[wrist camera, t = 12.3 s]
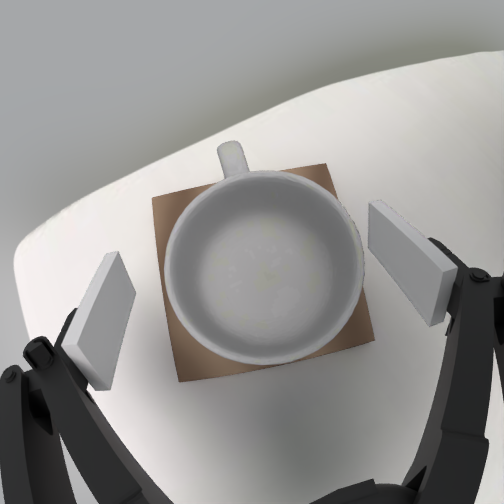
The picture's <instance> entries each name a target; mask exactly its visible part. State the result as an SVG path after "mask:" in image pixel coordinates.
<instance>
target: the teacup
mask: <svg viewBox="0 0 504 504" xmlns="http://www.w3.org/2000/svg"><path fill="white" fill-rule="evenodd" d="M217 153H218V156H219V159H220V162H221V166H222V169H223V173H224V176H225V179H223V180H222V181H220V182H218V183H216V184H214V185H213V186H211V187H210V188H208V189H207V190H205V191H204V192H202V193H201V194H199V195H198V196H197V197H196V198H195V199H194V200H193V201H192V202H191V203H190V204H189V205H188V206H187V207H186V208H185V210H184V211H183V213H182V214H181V215H180V217H179V218H178V220H177V222H176V223H175V225H174V228H173V230H172V232H171V235H170V237H169V240H168V244H167V247H166V256H165V264H164V276H165V285H166V291H167V294H168V297H169V301H170V303H171V305H172V307H173V310H174V311H175V313H176V315H177V317H178V319H179V320H180V322H181V324H182V325H183V326H184V327H185V328H186V330H187V331H188V332H189V333H190V335H191V336H192V337H194V338H195V339H196V340H197V341H198V342H199V343H200V344H202V345H203V346H205V347H206V348H207V349H209V350H210V351H212V352H214V353H216V354H217V355H219V356H221V357H224V358H227V359H230V360H233V361H236V362H240V363H244V364H255V365H274V364H282V363H288V362H292V361H295V360H298V359H300V358H303V357H305V356H307V355H309V354H311V353H314V352H315V351H317V350H319V349H321V348H322V347H323V346H325V345H326V344H327V343H329V342H330V341H331V340H332V339H333V338H334V337H335V336H336V335H337V334H338V333H339V332H340V331H341V329H342V328H343V326H344V325H345V324H346V323H347V321H348V319H349V318H350V316H351V315H352V313H353V310H354V308H355V306H356V305H357V302H358V300H359V297H360V294H361V290H362V285H363V279H364V264H365V262H364V252H363V248H362V243H361V239H360V235H359V232H358V230H357V229H356V226H355V223H354V222H353V221H352V220H351V218H350V215H349V214H348V213H347V211H346V209H345V208H344V207H343V206H342V204H341V203H340V202H339V201H338V200H337V199H336V198H335V197H334V196H333V195H332V194H331V193H330V192H329V191H327V190H326V189H324V188H323V187H321V186H320V185H318V184H317V183H315V182H313V181H311V180H309V179H307V178H305V177H303V176H299V175H296V174H293V173H289V172H283V171H252V172H249V168H248V165H247V162H246V158H245V155H244V152H243V149H242V147H241V145H240V143H239V142H238V141H228V142H225V143H223V144H221V145H220V146H218V148H217Z"/></svg>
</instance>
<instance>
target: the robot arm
mask: <svg viewBox="0 0 504 504" xmlns="http://www.w3.org/2000/svg"><path fill="white" fill-rule="evenodd" d="M368 248H369V250H370V251H371V252H372V253H373V254H374V256H375V257H376V258H377V259H378V261H379V262H380V263H381V264H382V265H383V267H384V268H385V269H386V270H387V272H388V273H389V274H390V275H391V277H392V278H393V279H394V281H395V282H396V283H397V284H398V286H399V287H400V288H401V290H402V291H403V292H404V293H405V295H406V296H407V297H408V299H409V300H410V301H411V303H412V304H413V305H414V307H415V308H416V309H417V311H418V312H419V313H420V315H421V316H422V318H423V319H424V320H425V322H426V323H427V325H428V326H429V327H430V326H433V325H436V324H438V323H441V322H443V321H444V318H445V315H446V311H448V313H449V314H450V315H451V319H450V323H449V325H448V328H447V331H446V334H445V336H447V341H446V347H445V352H444V357H443V362H442V367H441V372H440V376H439V380H438V384H437V389H436V392H435V396H434V400H433V404H432V407H431V411H430V414H429V418H428V421H427V424H426V427H425V431H424V434H423V437H422V440H421V442H420V445H419V448H418V451H417V454H416V456H415V459H414V461H413V464H412V466H411V468H410V469H409V471H408V473H407V475H406V477H405V479H404V481H403V483H402V485H396V484H375V482H374V479H370V480H367V481H364V482H361V483H358V484H354V485H351V486H348V487H344V488H341V489H338V490H336V491H334V492H332V493H330V494H328V495H326V496H324V497H322V498H320V499H318V500H316V501H314V502H312V503H309V504H474V502H475V499H476V496H477V493H478V490H479V486H480V483H481V479H482V475H483V471H484V467H485V463H486V459H487V455H488V449H489V440H488V439H486V438H485V436H484V433H485V427H486V421H487V415H488V408H489V400H490V392H491V382H492V371H493V353H494V350H495V354H496V359H497V364H498V369H499V375H500V381H501V387H502V393H503V401H504V273H503V276H502V277H491V276H490V275H489V274H488V273H487V272H486V271H484V270H482V269H479V268H468V267H467V266H466V265H465V264H464V263H463V262H462V261H461V260H460V259H459V258H458V257H457V256H455V255H454V254H452V252H451V251H450V250H449V249H447V247H445V246H444V245H443V244H442V243H441V242H439V241H437V240H435V239H433V238H426V237H425V236H424V235H423V234H422V233H420V232H419V231H418V230H417V229H416V228H415V227H413V226H412V225H411V224H410V223H409V222H408V221H406V220H405V219H404V218H403V217H402V216H400V215H399V214H398V213H397V212H396V211H394V210H393V209H392V208H391V207H389V206H388V205H387V204H386V203H384V202H383V201H382V200H378V201H372V202H369V223H368ZM135 296H136V291H135V289H134V287H133V285H132V282H131V280H130V278H129V275H128V273H127V271H126V268H125V266H124V263H123V261H122V259H121V256H120V254H119V251H116V252H112V253H107V254H106V255H105V256H104V258H103V260H102V262H101V264H100V266H99V267H98V269H97V271H96V273H95V275H94V277H93V279H92V281H91V283H90V285H89V287H88V289H87V291H86V293H85V295H84V297H83V299H82V301H81V303H80V305H79V307H78V308H74V310H73V311H72V312H71V313H70V314H69V315H68V317H67V319H66V321H65V323H64V325H63V327H62V329H61V332H60V334H59V336H58V338H57V340H56V342H55V345H54V347H53V346H52V344H51V343H50V342H49V340H48V339H47V338H46V337H44V336H40V337H37V338H35V339H33V340H32V341H30V342H29V343H28V344H27V346H26V347H25V349H24V351H23V357H24V358H25V359H26V361H27V362H28V363H29V365H30V366H31V367H32V368H33V369H32V370H29V371H26V372H23V370H22V369H21V368H20V367H19V366H18V365H12V366H10V367H9V368H7V369H6V370H5V371H4V372H3V374H2V376H1V378H0V469H1V478H2V487H3V494H4V500H5V504H77V503H76V500H75V497H74V493H73V490H72V487H71V483H70V479H69V476H68V472H67V468H66V464H65V459H64V455H63V450H62V446H61V441H60V436H59V433H60V435H61V437H62V440H63V442H64V444H65V446H66V448H67V450H68V452H69V454H70V456H71V458H72V459H73V461H74V463H75V465H76V467H77V469H78V470H79V472H80V474H81V476H82V477H83V479H84V481H85V482H86V484H87V485H88V487H89V489H90V491H91V492H92V494H93V495H94V497H95V499H96V500H97V502H98V503H99V504H174V503H173V502H172V501H171V500H170V499H169V498H168V497H167V496H166V495H165V494H164V493H163V491H162V490H161V489H160V488H159V487H158V486H157V485H156V484H155V482H154V481H153V480H152V479H151V478H150V477H149V475H148V474H147V473H146V472H145V471H144V469H143V468H142V467H141V466H140V465H139V463H138V462H137V461H136V459H135V458H134V457H133V456H132V454H131V453H130V452H129V450H128V449H127V448H126V446H125V445H124V444H123V442H122V441H121V440H120V438H119V437H118V435H117V434H116V433H115V431H114V430H113V428H112V427H111V425H110V424H109V423H108V421H107V420H106V418H105V417H104V415H103V414H102V412H101V410H100V409H99V407H98V406H97V404H96V403H95V401H94V399H93V398H92V396H91V395H90V393H89V392H88V391H87V390H86V389H87V386H88V382H89V384H90V385H91V386H92V387H93V388H94V390H95V391H105V390H111V386H112V382H113V377H114V373H115V369H116V365H117V361H118V357H119V353H120V349H121V345H122V341H123V337H124V334H125V330H126V327H127V323H128V319H129V316H130V312H131V309H132V306H133V302H134V299H135Z"/></svg>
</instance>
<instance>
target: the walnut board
mask: <svg viewBox="0 0 504 504" xmlns="http://www.w3.org/2000/svg"><path fill="white" fill-rule="evenodd" d="M281 171H283V172H289V173H293V174H296V175H299V176H303V177H305V178H307V179H309V180H311V181H313V182H315V183H317V184H318V185H320V186H321V187H323V188H324V189H326V190H327V191H329V192H330V193H331V194H332V195H333V196H334V197H335V198H336V199H337V200H338V198H337V194H336V191H335V188H334V185H333V182H332V179H331V176H330V173H329V170H328V168H327V165H326V163H325V164H318V165H312V166H305V167H299V168H293V169H287V170H281ZM214 184H216V183H214ZM214 184H209V185H204V186H200V187H195V188H191V189H186V190H182V191H178V192H174V193H169V194H165V195H161V196H157V197H153V198H152V206H153V217H154V227H155V237H156V246H157V254H158V262H159V270H160V278H161V285H162V292H163V298H164V305H165V311H166V317H167V323H168V329H169V334H170V340H171V345H172V350H173V356H174V361H175V366H176V370H177V375H178V380H179V382H186V381H194V380H201V379H208V378H214V377H221V376H227V375H233V374H238V373H244V372H249V371H255V370H260V369H265V368H270V367H274V366H279V365H284V364H288V363H293V362H297V361H301V360H305V359H310V358H314V357H318V356H322V355H325V354H329V353H333V352H337V351H340V350H344V349H348V348H351V347H355V346H358V345H361V344H365V343H368V342H371V341H375V339H374V334H373V329H372V325H371V320H370V316H369V311H368V307H367V302H366V298H365V294H364V290H363V286H362V290H361V294H360V297H359V300H358V302H357V305H356V306H355V308H354V310H353V313H352V315H351V316H350V318H349V319H348V321H347V323H346V324H345V325H344V326H343V328H342V329H341V331H340V332H339V333H338V334H337V335H336V336H335V337H334V338H333V339H332V340H331V341H330V342H329V343H327V344H326V345H325V346H323V347H322V348H321V349H319V350H317V351H315V352H314V353H311V354H309V355H307V356H305V357H303V358H300V359H298V360H295V361H292V362H288V363H282V364H274V365H255V364H244V363H240V362H236V361H233V360H230V359H227V358H224V357H221V356H219V355H217V354H216V353H214V352H212V351H210V350H209V349H207V348H206V347H205V346H203V345H202V344H200V343H199V342H198V341H197V340H196V339H195V338H194V337H192V336H191V335H190V333H189V332H188V331H187V330H186V328H185V327H184V326H183V325H182V324H181V322H180V320H179V319H178V317H177V315H176V313H175V311H174V310H173V307H172V305H171V303H170V301H169V297H168V294H167V291H166V285H165V276H164V264H165V256H166V247H167V244H168V240H169V237H170V235H171V232H172V230H173V228H174V225H175V223H176V222H177V220H178V218H179V217H180V215H181V214H182V213H183V211H184V210H185V208H186V207H187V206H188V205H189V204H190V203H191V202H192V201H193V200H194V199H195V198H196V197H197V196H198V195H199V194H201V193H202V192H204V191H205V190H207V189H208V188H210V187H211V186H213V185H214Z"/></svg>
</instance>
